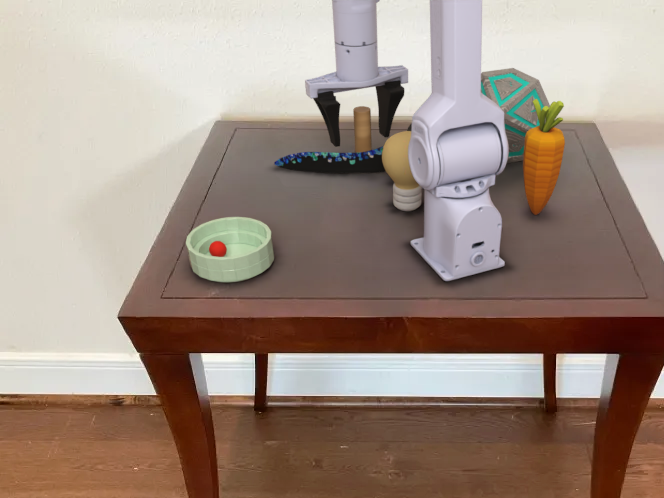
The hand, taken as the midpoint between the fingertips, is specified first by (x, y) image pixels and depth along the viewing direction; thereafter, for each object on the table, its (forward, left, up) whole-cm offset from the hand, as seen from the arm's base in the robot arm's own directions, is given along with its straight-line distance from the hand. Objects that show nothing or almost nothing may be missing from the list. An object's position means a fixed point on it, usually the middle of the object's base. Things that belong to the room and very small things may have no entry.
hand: (360, 139), depth 106 cm
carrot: (-25, -14, -3) cm, 29 cm away
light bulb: (-16, 0, -3) cm, 16 cm away
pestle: (-1, 0, -3) cm, 3 cm away
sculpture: (+4, -28, -3) cm, 28 cm away
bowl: (-20, +24, -3) cm, 32 cm away
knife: (-6, 0, -3) cm, 7 cm away
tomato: (-19, +26, -2) cm, 32 cm away
